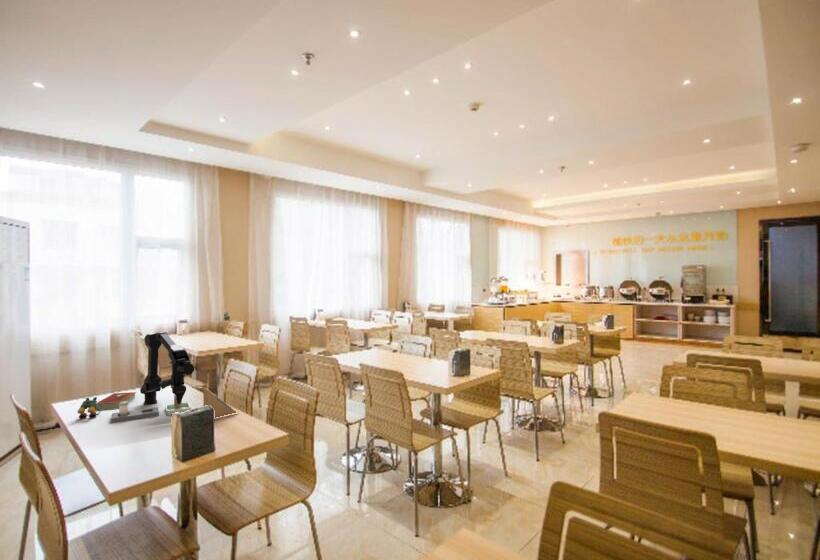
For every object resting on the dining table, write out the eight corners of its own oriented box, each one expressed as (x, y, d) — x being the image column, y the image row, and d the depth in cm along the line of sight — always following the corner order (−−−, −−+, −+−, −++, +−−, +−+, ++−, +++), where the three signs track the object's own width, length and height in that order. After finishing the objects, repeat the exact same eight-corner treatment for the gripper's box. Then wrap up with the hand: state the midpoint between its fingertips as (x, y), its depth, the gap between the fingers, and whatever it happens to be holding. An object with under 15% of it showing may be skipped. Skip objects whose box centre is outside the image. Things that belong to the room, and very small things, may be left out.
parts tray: (165, 409, 228) (165, 405, 228) (188, 406, 234) (188, 402, 234) (166, 416, 218) (166, 411, 218) (191, 412, 224) (191, 407, 224)
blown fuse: (173, 409, 226) (173, 394, 226) (181, 408, 228) (181, 393, 228) (174, 411, 223) (174, 396, 223) (182, 410, 225) (182, 395, 225)
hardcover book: (94, 410, 228) (94, 403, 228) (113, 399, 248) (113, 392, 248) (119, 409, 230) (119, 401, 230) (136, 398, 251) (136, 391, 251)
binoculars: (78, 423, 213) (73, 409, 208) (84, 408, 220) (79, 395, 215) (99, 421, 216) (95, 408, 211) (105, 407, 223) (101, 394, 218)
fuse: (119, 417, 213) (119, 401, 213) (128, 416, 215) (128, 400, 215) (119, 419, 210) (119, 403, 210) (128, 418, 212) (128, 402, 212)
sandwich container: (239, 414, 222) (239, 385, 222) (208, 420, 211) (208, 390, 211) (233, 410, 228) (233, 382, 228) (203, 416, 218) (203, 387, 218)
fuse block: (112, 418, 214) (112, 413, 214) (158, 411, 225) (158, 406, 225) (111, 423, 206) (111, 418, 206) (158, 416, 217) (158, 411, 217)
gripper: (159, 371, 229) (159, 399, 229) (161, 377, 214) (161, 408, 214) (183, 368, 235) (182, 396, 235) (186, 375, 220) (186, 405, 220)
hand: (178, 401), depth 226 cm, fingers open, 9 cm apart
